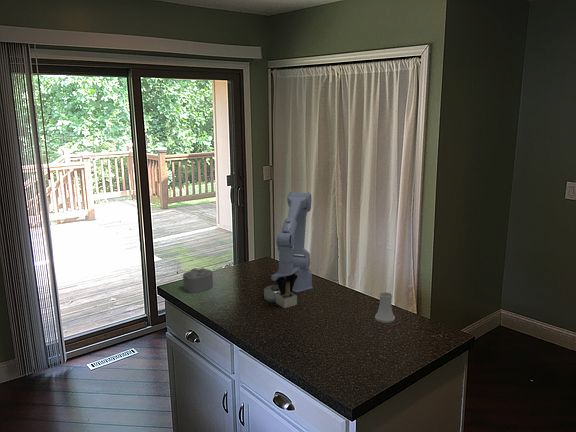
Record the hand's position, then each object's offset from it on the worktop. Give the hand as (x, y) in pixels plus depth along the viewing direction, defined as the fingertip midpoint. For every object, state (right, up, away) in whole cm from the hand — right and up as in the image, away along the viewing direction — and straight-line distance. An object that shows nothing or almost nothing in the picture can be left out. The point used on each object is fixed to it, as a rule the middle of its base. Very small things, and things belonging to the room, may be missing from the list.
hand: (286, 292), depth 197 cm
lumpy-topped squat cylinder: (-40, -2, +21) cm, 45 cm away
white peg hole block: (-3, -4, +5) cm, 7 cm away
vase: (+38, -8, -13) cm, 41 cm away
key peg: (0, -3, +1) cm, 3 cm away
